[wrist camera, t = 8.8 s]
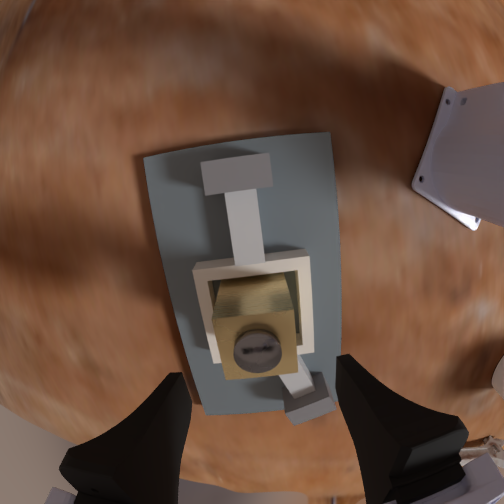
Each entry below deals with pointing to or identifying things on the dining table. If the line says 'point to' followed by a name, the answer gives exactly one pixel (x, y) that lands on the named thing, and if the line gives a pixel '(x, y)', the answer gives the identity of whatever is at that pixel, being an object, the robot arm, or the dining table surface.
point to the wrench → (490, 445)
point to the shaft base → (283, 227)
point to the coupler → (255, 327)
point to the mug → (499, 378)
